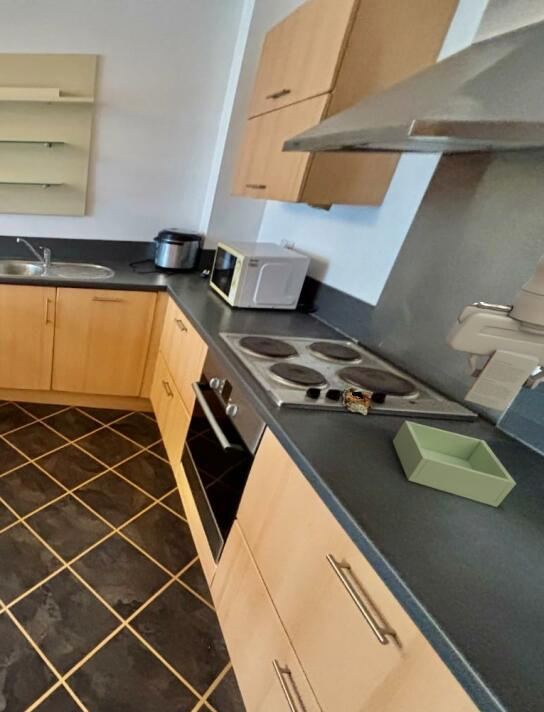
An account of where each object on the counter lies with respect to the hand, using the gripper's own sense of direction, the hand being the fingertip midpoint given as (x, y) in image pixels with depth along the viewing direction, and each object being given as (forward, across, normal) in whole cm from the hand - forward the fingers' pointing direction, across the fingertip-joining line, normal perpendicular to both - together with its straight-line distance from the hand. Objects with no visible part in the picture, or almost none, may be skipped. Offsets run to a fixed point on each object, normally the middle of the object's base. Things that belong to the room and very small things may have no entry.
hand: (498, 381), depth 78 cm
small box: (+4, 0, 0) cm, 4 cm away
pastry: (+21, -12, +22) cm, 33 cm away
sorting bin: (+21, 0, -2) cm, 21 cm away
